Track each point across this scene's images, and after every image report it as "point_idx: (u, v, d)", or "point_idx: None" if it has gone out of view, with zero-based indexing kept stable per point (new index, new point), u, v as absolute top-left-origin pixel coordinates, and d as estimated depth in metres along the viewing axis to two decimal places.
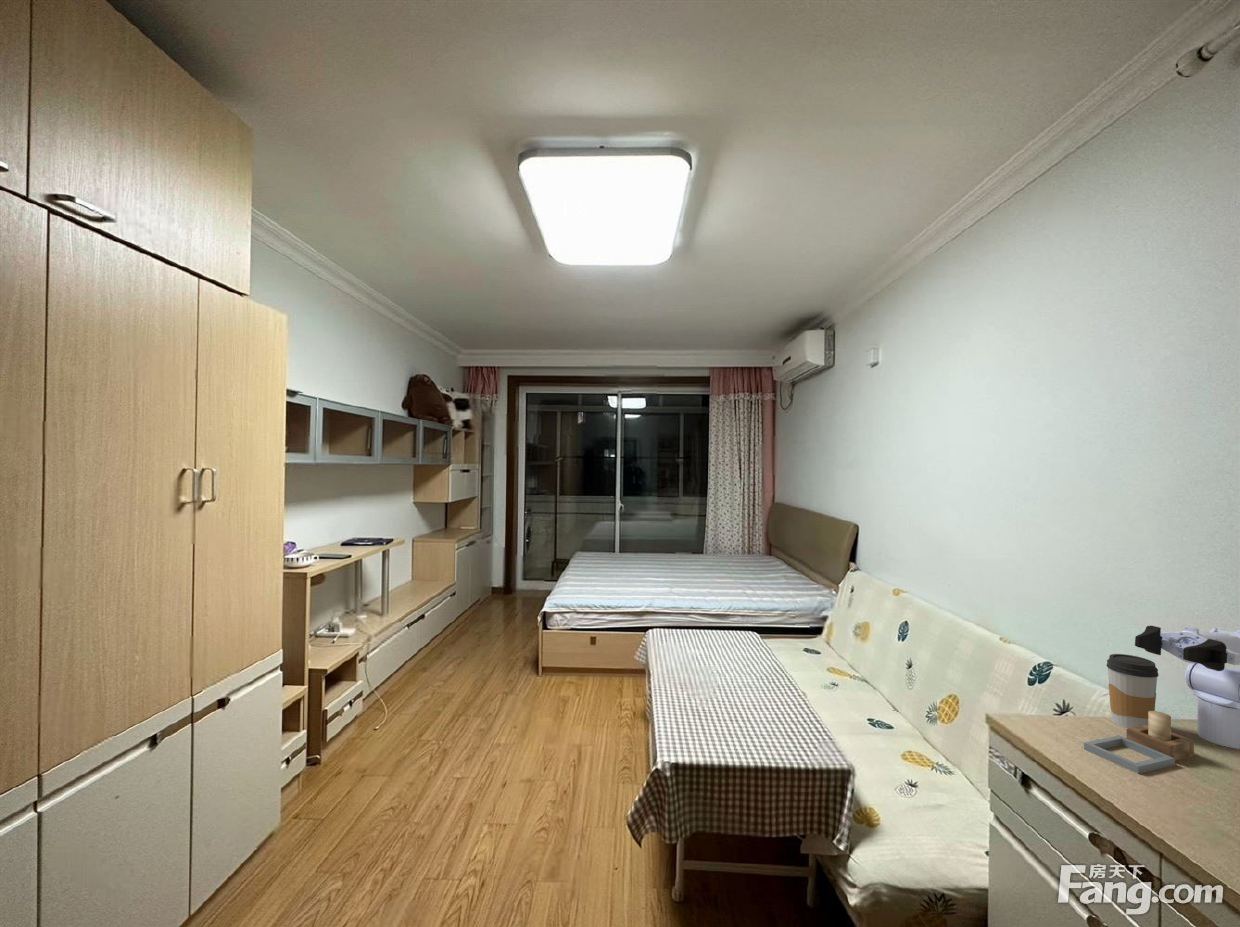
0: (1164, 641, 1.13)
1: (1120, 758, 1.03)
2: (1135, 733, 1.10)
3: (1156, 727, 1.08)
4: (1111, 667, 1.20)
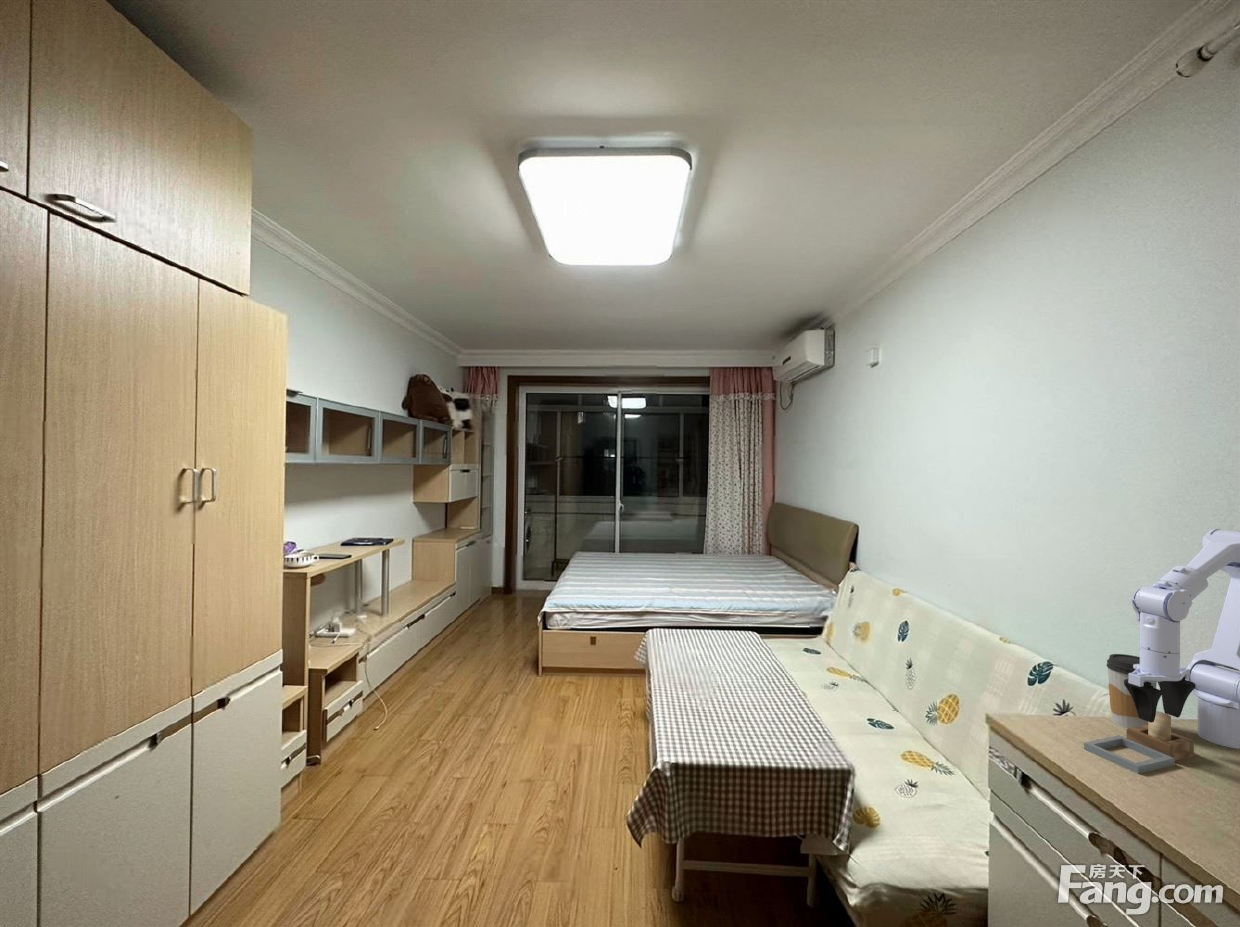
0: None
1: (1120, 758, 1.03)
2: (1135, 733, 1.10)
3: (1156, 727, 1.08)
4: (1111, 667, 1.20)
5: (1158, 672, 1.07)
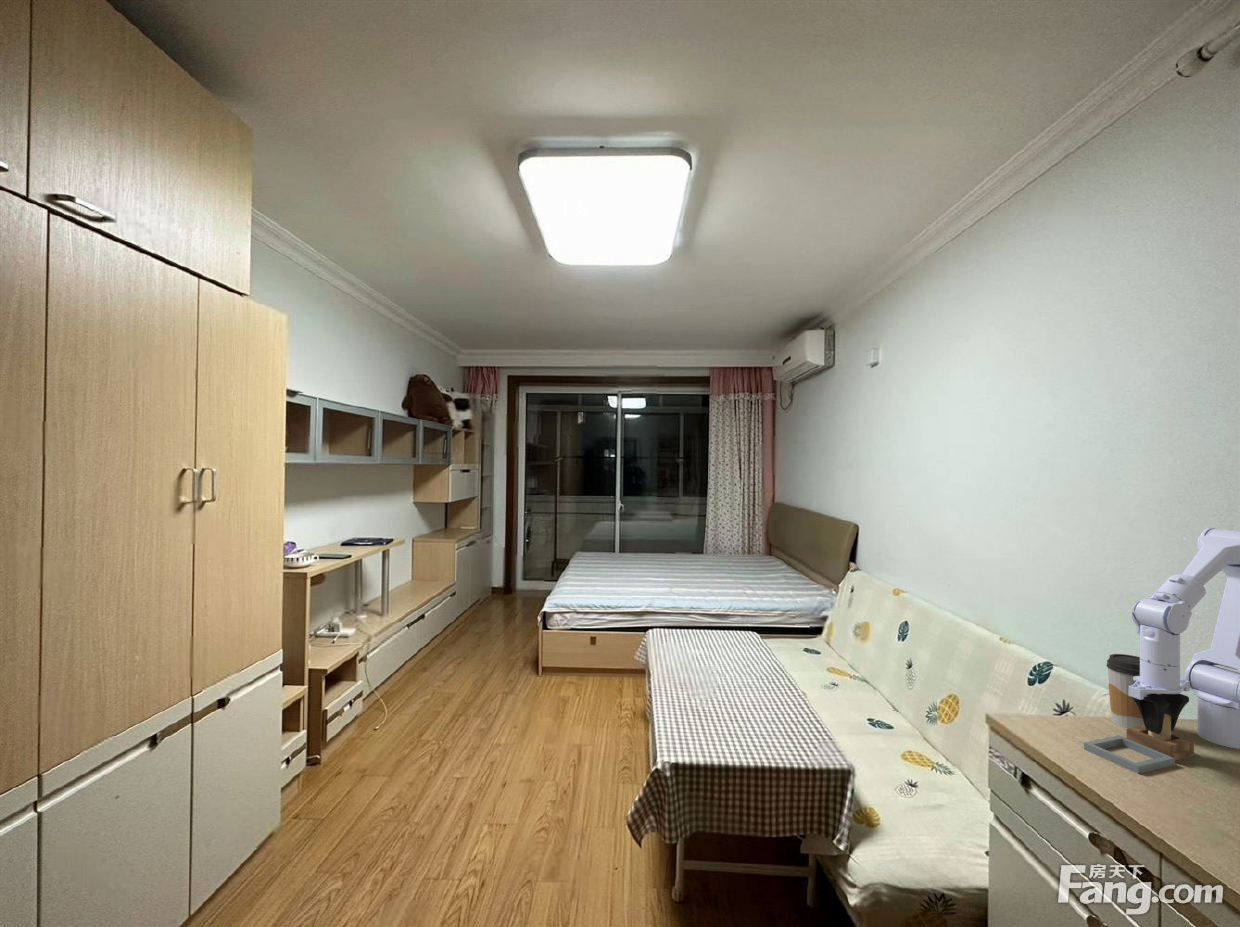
0: None
1: (1120, 758, 1.03)
2: (1135, 733, 1.10)
3: None
4: (1111, 667, 1.20)
5: (1158, 685, 1.07)
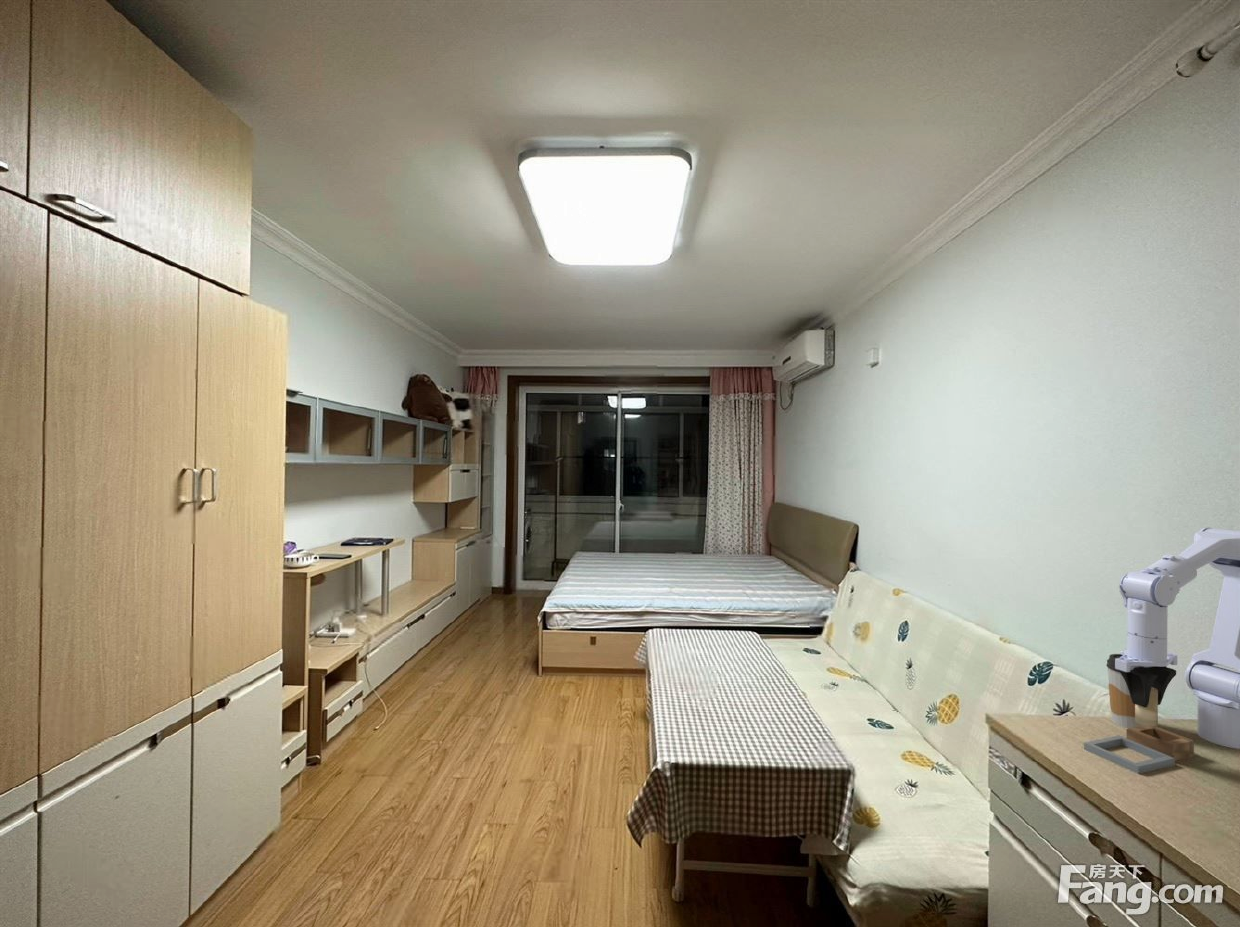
0: None
1: (1120, 758, 1.03)
2: (1135, 733, 1.10)
3: None
4: (1111, 667, 1.20)
5: (1145, 658, 1.06)
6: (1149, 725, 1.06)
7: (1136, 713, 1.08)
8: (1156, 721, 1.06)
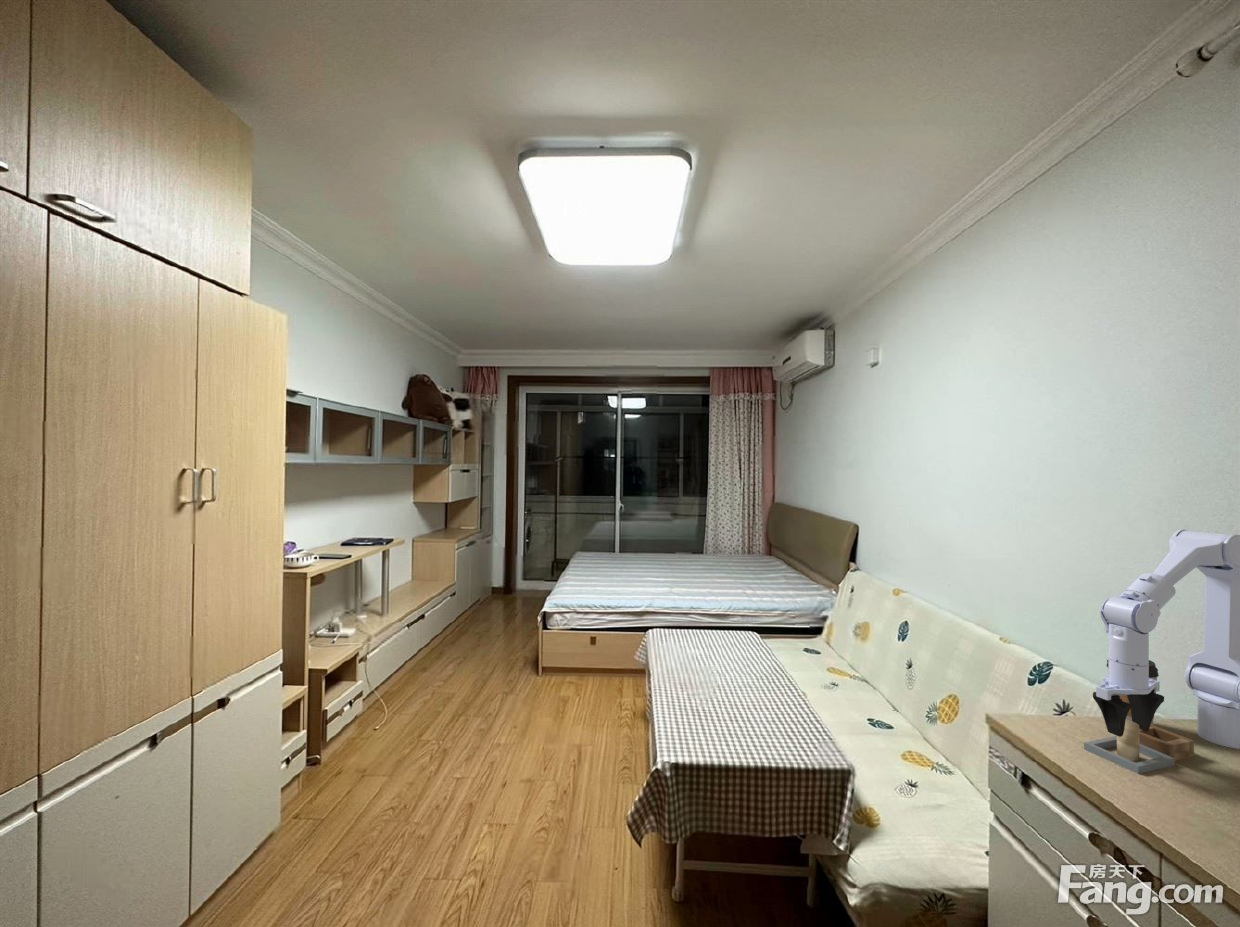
0: None
1: (1120, 758, 1.03)
2: None
3: (1124, 736, 1.05)
4: None
5: (1126, 685, 1.04)
6: None
7: (1118, 748, 1.06)
8: (1138, 757, 1.05)
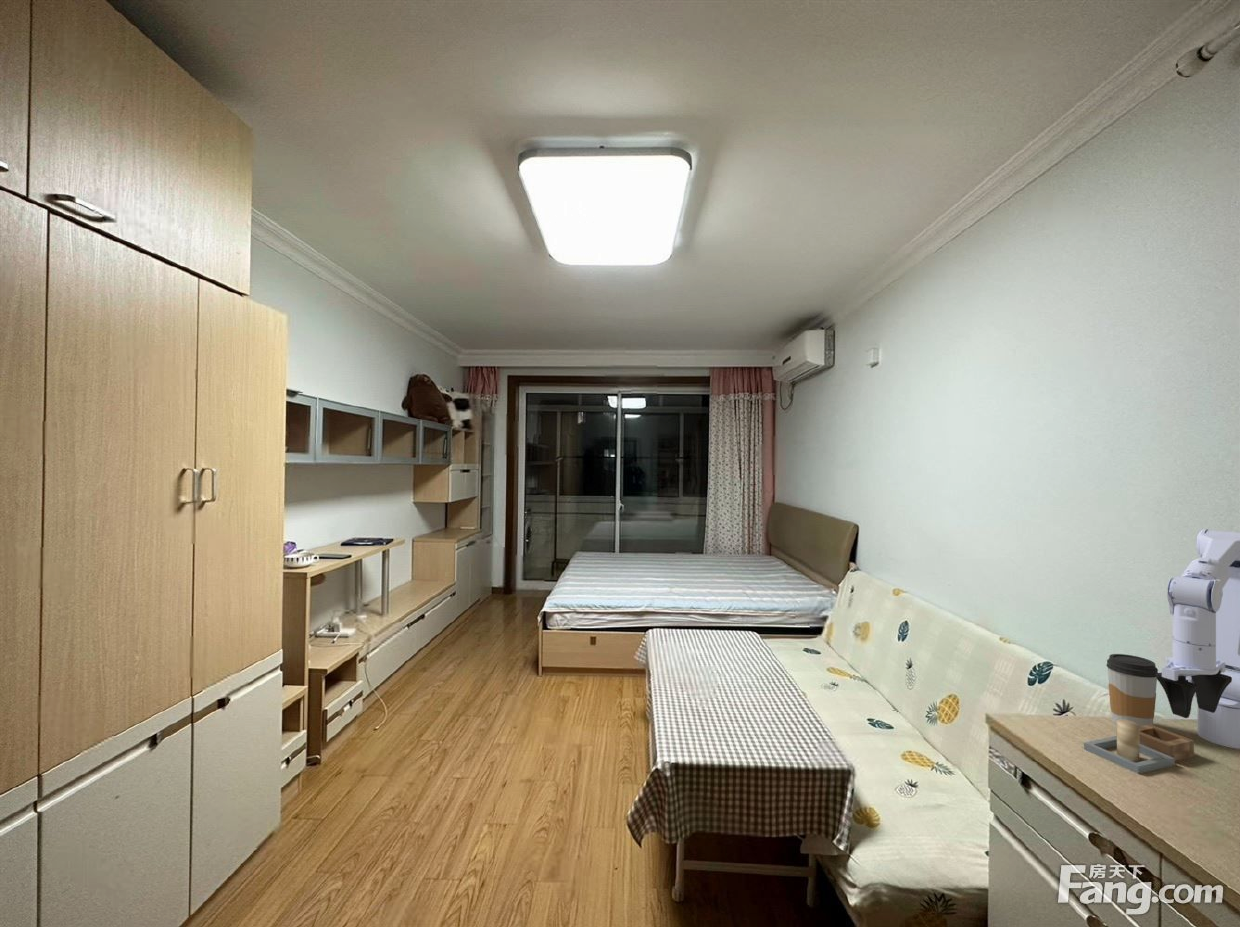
0: None
1: (1120, 758, 1.03)
2: None
3: (1124, 736, 1.05)
4: (1111, 667, 1.20)
5: (1193, 666, 1.02)
6: None
7: (1118, 748, 1.06)
8: (1138, 757, 1.05)
